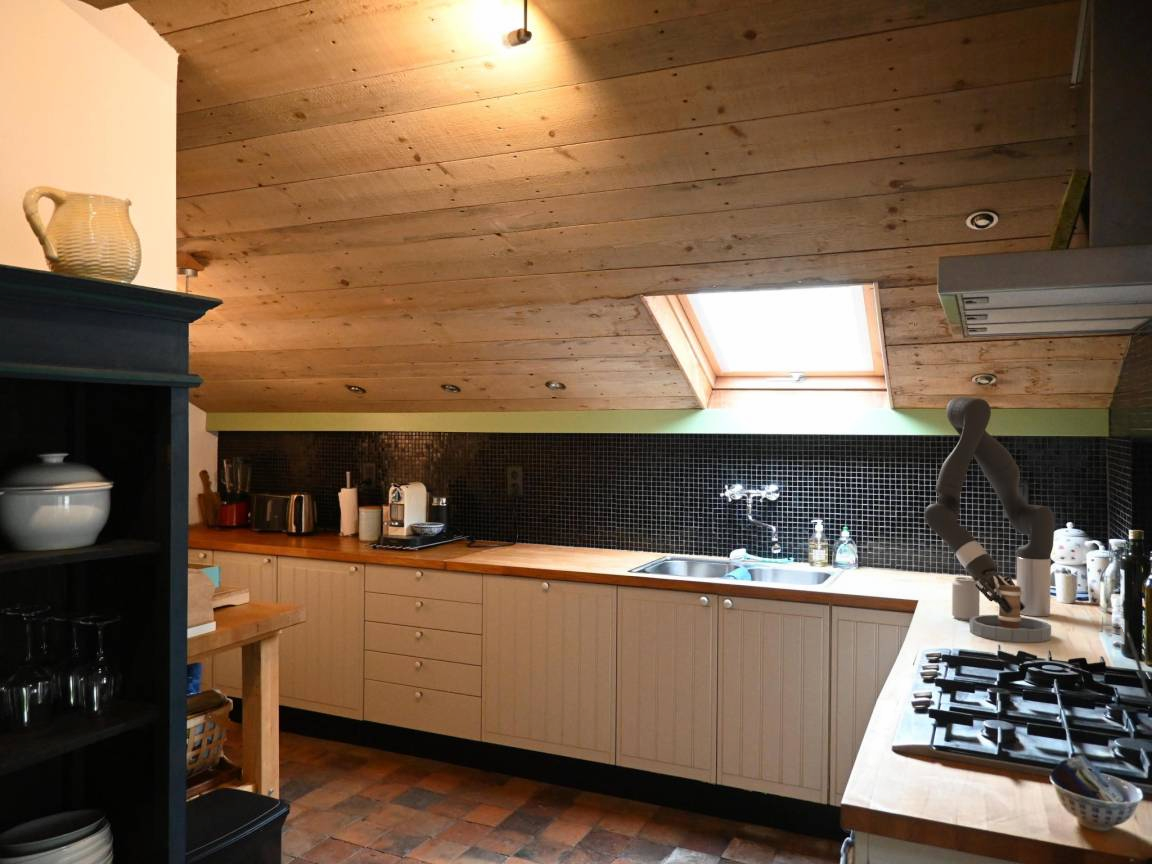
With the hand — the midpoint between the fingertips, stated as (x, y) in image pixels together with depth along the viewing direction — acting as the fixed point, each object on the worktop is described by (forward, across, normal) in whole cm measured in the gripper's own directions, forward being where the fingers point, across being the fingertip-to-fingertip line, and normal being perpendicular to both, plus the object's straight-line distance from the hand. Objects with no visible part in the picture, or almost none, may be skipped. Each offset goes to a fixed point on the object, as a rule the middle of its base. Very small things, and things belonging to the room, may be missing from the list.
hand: (1016, 610), depth 246 cm
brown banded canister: (+2, 0, +5) cm, 5 cm away
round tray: (+4, 0, +6) cm, 7 cm away
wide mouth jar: (-10, +9, +20) cm, 24 cm away
